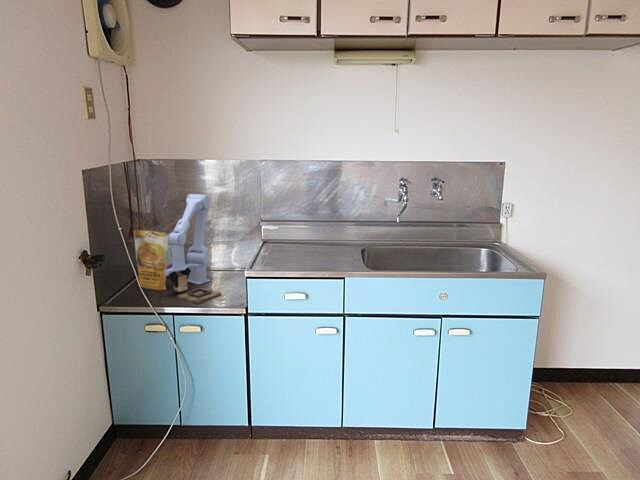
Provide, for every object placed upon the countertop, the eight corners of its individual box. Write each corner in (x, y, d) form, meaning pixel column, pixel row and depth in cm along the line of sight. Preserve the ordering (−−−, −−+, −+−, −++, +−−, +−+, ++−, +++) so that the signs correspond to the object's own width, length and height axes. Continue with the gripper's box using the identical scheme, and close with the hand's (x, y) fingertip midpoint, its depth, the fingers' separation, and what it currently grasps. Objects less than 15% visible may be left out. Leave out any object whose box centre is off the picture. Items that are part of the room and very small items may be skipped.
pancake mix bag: (142, 282, 238) (137, 228, 231) (174, 287, 231) (169, 231, 225) (133, 287, 232) (127, 231, 225) (165, 292, 225) (160, 234, 218)
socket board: (177, 297, 218) (176, 293, 217) (201, 289, 229) (201, 285, 228) (197, 304, 210) (196, 299, 209) (221, 295, 221) (221, 291, 220)
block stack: (173, 289, 223) (172, 275, 222) (181, 287, 227) (180, 273, 225) (179, 291, 221) (178, 277, 219) (187, 289, 224) (186, 275, 222)
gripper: (170, 263, 212) (172, 291, 215) (196, 255, 223) (198, 283, 227) (160, 260, 216) (163, 288, 219) (186, 253, 227) (188, 280, 231)
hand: (180, 285), depth 223 cm, fingers closed on block stack, 4 cm apart
